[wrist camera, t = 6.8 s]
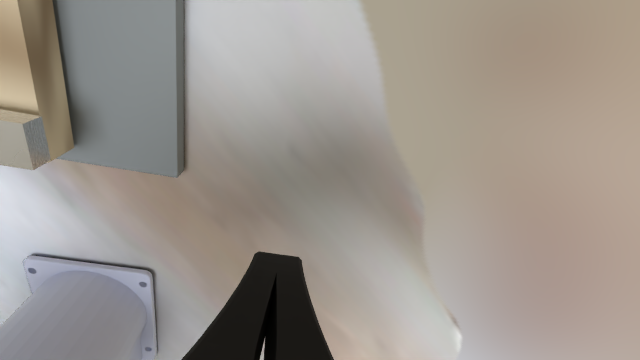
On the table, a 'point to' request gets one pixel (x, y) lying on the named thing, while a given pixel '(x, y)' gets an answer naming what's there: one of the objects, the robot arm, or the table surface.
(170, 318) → the table surface
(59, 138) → the beech link
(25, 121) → the steel keeper
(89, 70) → the slate board
